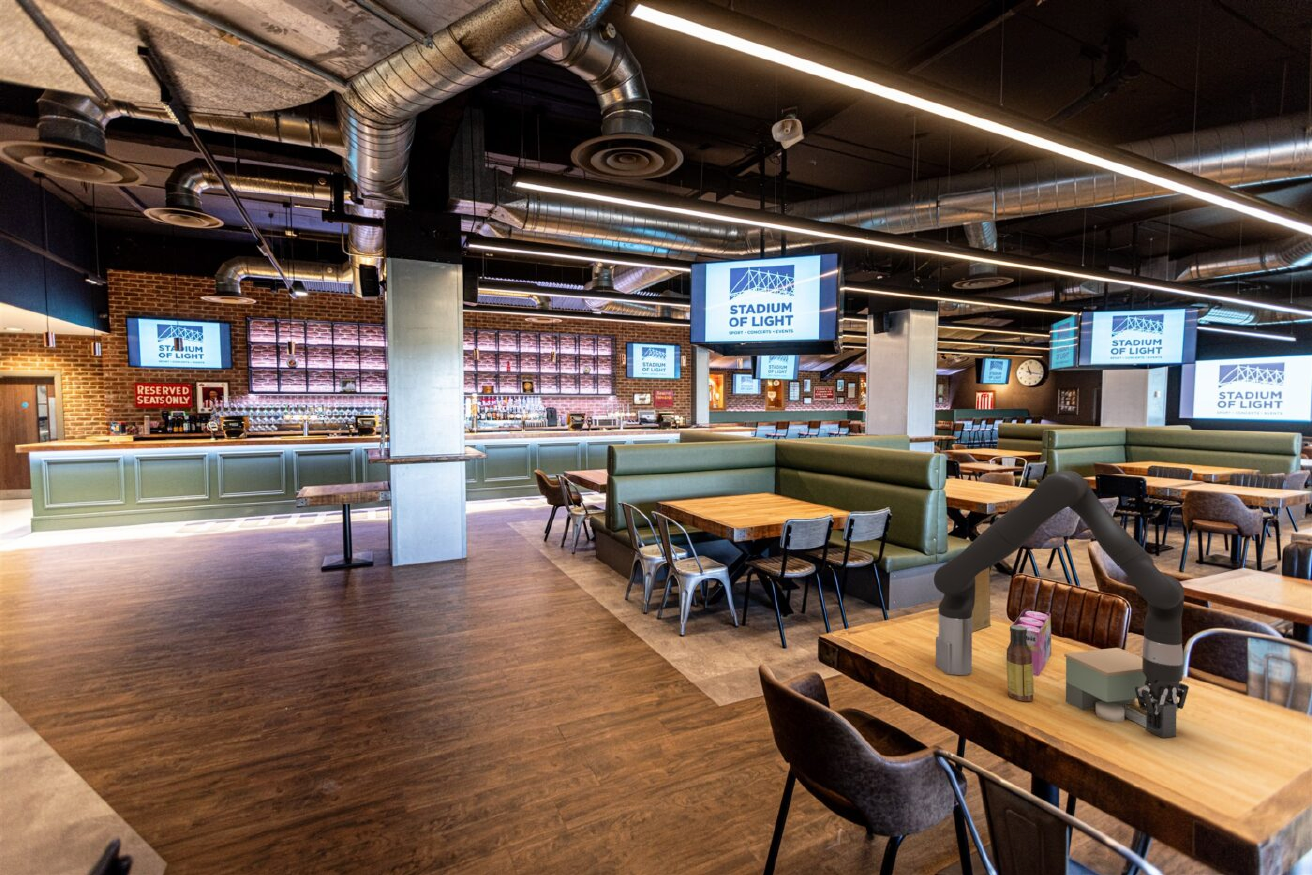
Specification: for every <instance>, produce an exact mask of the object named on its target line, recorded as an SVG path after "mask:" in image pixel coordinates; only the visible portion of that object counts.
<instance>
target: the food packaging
mask: <svg viewBox="0 0 1312 875" xmlns="http://www.w3.org/2000/svg"><path fill="white" fill-rule="evenodd" d="M951 560H952V559H948V560H947V561H948V562H949V561H951ZM990 568H991V567H989V568H987V569H985V570H983V571H982V572H980V573H979V574H978V575H976V576H975V604H974V608H973V610H972V633H974V632H977V631H980V630H983V629H986V628H988V627H991V586H990V585H991V576H990V575H991V573H990V572H991V570H990Z"/></svg>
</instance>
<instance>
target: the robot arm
mask: <svg viewBox="0 0 1312 875" xmlns="http://www.w3.org/2000/svg"><path fill="white" fill-rule="evenodd" d="M1067 508H1069V509H1070V510H1071V511H1073V512H1074V513H1075V514H1077V515H1078V516H1079V517H1080V519H1081V520H1082V521H1083V522H1084V523H1085V524H1086V526H1087V527H1088V529H1089V530H1090V532H1091V533H1092V535H1093V537H1094V539H1095V540H1096V541H1097V543H1098V545H1099V546H1100V547H1101V549H1102V551H1104V552H1105V554H1106V555H1107V556H1108V557H1109V558H1110V559H1111V561H1113V562H1114V563H1115V565H1116V566H1118V568H1119V569H1120V570H1122V572H1124V574H1125V575H1126V577H1127V578H1128V580H1129V581H1130V582H1131V584H1132V585H1133V587H1134V588H1135V590H1136V591H1137V593H1139V594H1140V596H1141V597H1142V598H1143V599H1144V600H1145V601H1146V602H1147V612H1146V615H1145V619H1144V624H1143V625H1144V627H1143V630H1144V631H1143V642H1142V671H1143V673H1144V674H1145V676H1146V682H1145V686H1143V687H1141V688H1140V687H1138V686H1136V687H1135V692H1136V696H1137V699H1136V700H1137V703H1138V706H1139V708H1140V709H1141V710H1143V711H1145V712H1146V711H1147V723H1148V725H1149V726H1150V727H1152V728H1154V729H1159V712H1160V706H1162V705H1164V701H1165V700H1167V701H1169V702H1171V703H1174V704H1177V711H1178V710H1179V709H1180V710H1183V709H1184V706H1185V704H1186V699H1187V696H1188V693H1189V688H1190V687H1189V686H1188V685H1187V684H1185V683H1182V681H1183V674H1184V673H1183V668H1184V663H1183V662H1184V651H1183V646H1182V645H1183V643H1182V641H1183V639H1182V638H1183V636H1182V633H1183V628H1182V617H1183V612H1184V603H1185V589H1184V586H1183V584H1182V583H1181V582H1180V581H1179V580H1178V579H1177V578H1176V577H1175V576H1172V575H1168V574H1163V573H1162V572H1161V571H1160V570H1159V569H1158V567H1157V566H1156V565H1155V563H1154V560H1153V558H1152V556H1151V555H1150V554H1149V553H1148V552H1147V551H1146V550H1145V548H1143V547H1142V546H1141V545H1140V544H1139V543H1138V541H1137V540H1135V538H1134V537H1132V536H1131V534H1130V533H1128V531H1127V530H1126V529H1125V528H1124V527H1122V525H1121V524H1120V523H1119V522H1118V521H1117V519H1115V518H1114V516H1113V515H1112V514H1111V513H1110V512H1109V511H1108V509H1107V508H1106V507H1105V506H1104V505H1103V503H1102V502H1101V500H1100V499H1099V498H1098V496H1097V495H1096V494H1095V492H1094V491H1093V490H1092V488H1091V487H1090V485H1089V484H1088V482H1087V481H1086V480H1085V479H1084V478H1083V475H1081V474H1079V473H1078V472H1075V471H1072V470H1060V471H1056V472H1054V473H1051V474H1049V475H1047V476H1046V477H1045V478H1043V479H1042V481H1041V482H1039V484H1038V485H1037V486H1036V487H1035V488H1034V489H1033V490H1032V492H1030V494H1028V496H1027V497H1026V498H1025V499H1024V500H1022V501H1021V502H1020V503H1019V504H1018V505H1016V506H1015V507H1013V508H1012V509H1010V510H1008V511H1007V512H1006V513H1004V514H1003V515H1001V517H999V518H998V519H996V520H995V521H994V522H993V523H991V524H990V525H989V526H988V527H987V528H986V529H985V530H984V531H982V532H981V533H980V534H979V535H978V536H977V537H976V538H975V539H974V540H973V541H972V542H971V543H970V544H969V545H968V546H967V547H966V548H965V549H963V551H961V553H959V554H958V555H956V556H955V557H953V558H952V559H950V560H951V561H949V562H946V563H944V564H943V565H941V566H940V567H938V568H937V569H936V571H935V573H934V575H933V583H934V586H935V588H936V590H937V591H939V592H940V593H941V594H943V597H942V599H941V601H940V602H939V604H938V636H935V667H936V668H938V669H939V670H941V671H943V672H944V673H946V674H947V675H954V676H955V675H956V676H967V675H970V674H972V673H973V672H972V671H973V668H972V667H973V640H972V638H973V632H972V610H973V608H974V604H975V576H976V575H978V574H979V573H980V572H982V571H983V570H985V569H987V568H989V567H990V568H991V567H993V566H995V565H996V564H998V563H1000V562H1002V561H1003V560H1005V559H1006V558H1008V557H1009V556H1011V555H1012V554H1014V553H1015V552H1016V551H1018V549H1020V548H1021V547H1022V546H1024V545H1025V544H1026V543H1027V542H1028V541H1029V540H1030V539H1031V538H1032V537H1033V536H1034V534H1035V533H1036V532H1037V531H1038V529H1039V528H1040V527H1041V526H1042V525H1043V524H1044V523H1045V522H1046V521H1048V520H1049V519H1051V518H1052V517H1053V516H1055V515H1057V514H1058V513H1059V512H1061V511H1063V510H1065V509H1067ZM1153 698H1155V699H1158V701H1157V700H1154V699H1153ZM1152 703H1154V704H1155V707H1154V708H1153V707H1152Z"/></svg>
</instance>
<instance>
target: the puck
mask: <svg viewBox="0 0 1312 875" xmlns="http://www.w3.org/2000/svg"><path fill="white" fill-rule="evenodd" d="M1095 714H1096V716H1098V718H1101V719H1103V720H1105V721H1109V722H1115V723H1117V722H1118V723H1121V722H1124V721H1125V717H1124V714H1125V710H1124V708H1123V707H1122V706H1120V705H1118V704H1115V703H1112V702H1105V701H1098V702H1096V709H1095Z"/></svg>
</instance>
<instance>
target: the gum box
mask: <svg viewBox="0 0 1312 875" xmlns="http://www.w3.org/2000/svg"><path fill="white" fill-rule="evenodd" d="M1051 620H1052V619H1051V612H1048V611H1046V612H1045V613H1042V612H1039V611H1031V610H1030V608H1025V609H1022V611H1021V612H1020V614H1019V616H1018V617H1017V618H1016V620H1015V621H1014V622H1013V623H1012V625H1020V626H1024V627H1026V628H1027V634H1026V641H1027V645H1028V646H1029V648H1030V650H1031V652H1032V662H1033V676H1035V677H1036V676H1037V677H1038V676H1040V674H1041V672H1042V671H1043V669H1044V667H1045V665H1046V663H1048V660H1049V658H1050V656H1051V654H1052V624H1051V623H1052V621H1051ZM1009 632H1010V631H1009ZM1009 634H1010V636H1009V637H1010V641H1009V642H1011V632H1010V633H1009Z"/></svg>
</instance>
